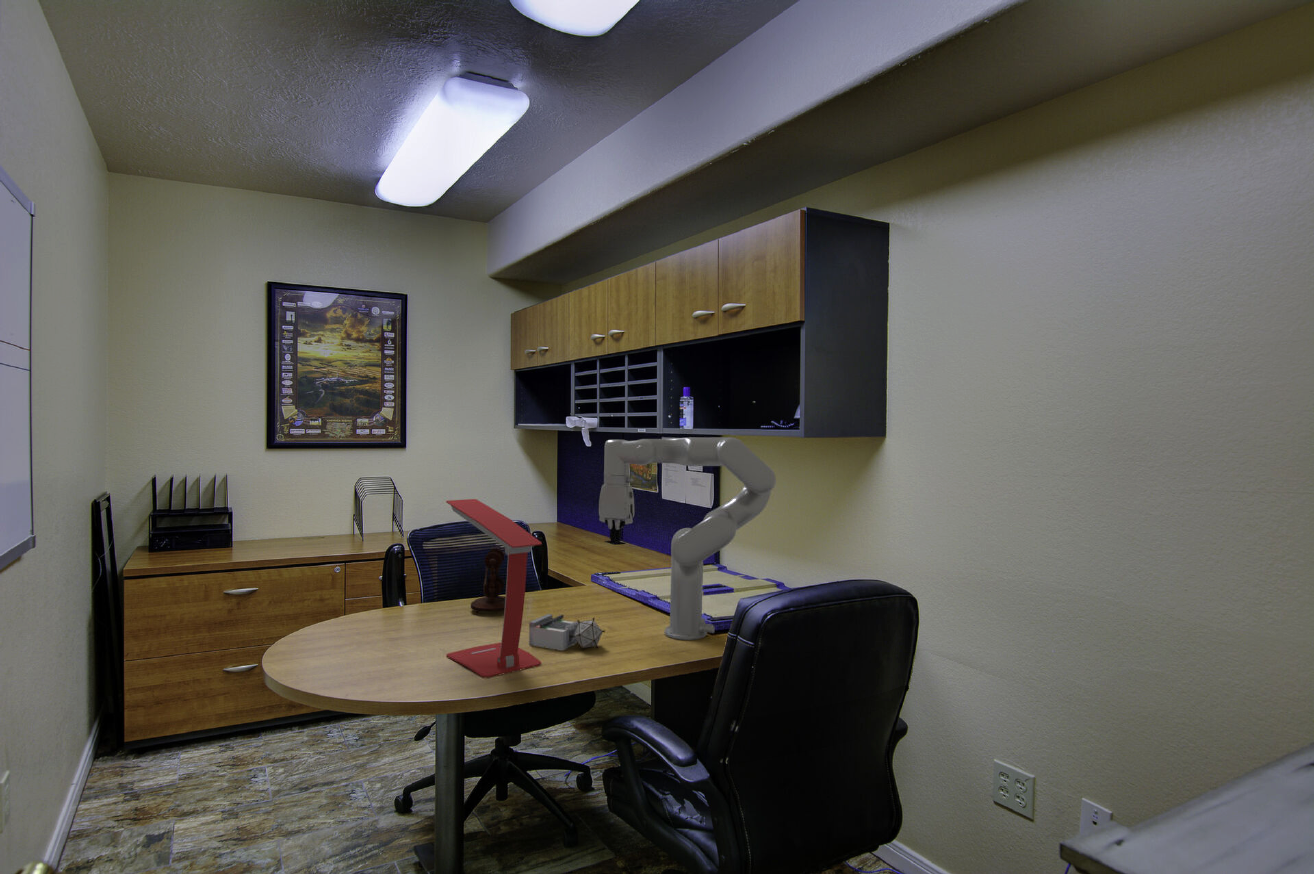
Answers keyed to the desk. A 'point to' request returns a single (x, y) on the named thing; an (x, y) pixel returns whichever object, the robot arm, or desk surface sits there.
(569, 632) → the grey channel block
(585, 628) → the game die
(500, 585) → the brown jointed stand
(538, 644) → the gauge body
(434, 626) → the desk surface
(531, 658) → the desk lamp
